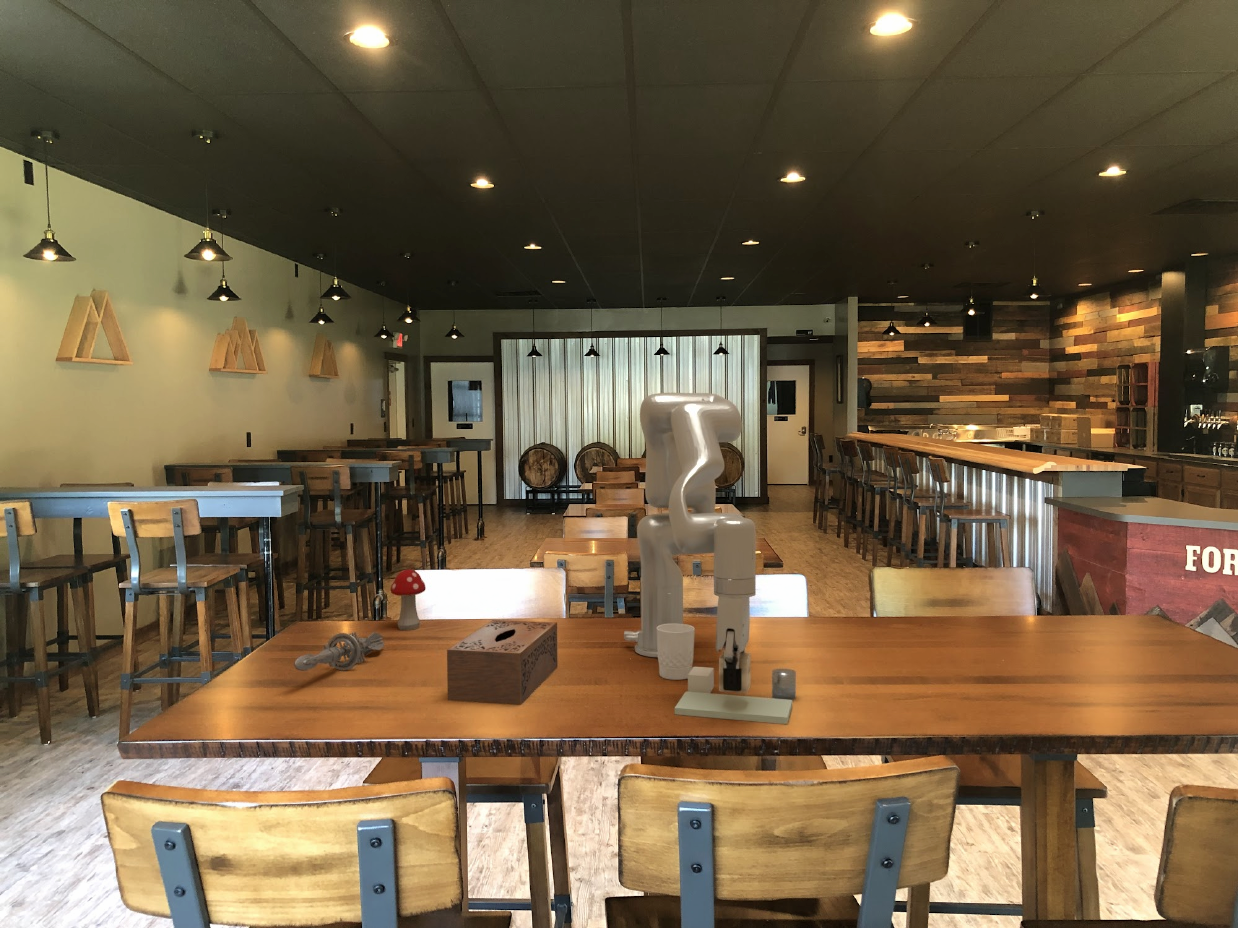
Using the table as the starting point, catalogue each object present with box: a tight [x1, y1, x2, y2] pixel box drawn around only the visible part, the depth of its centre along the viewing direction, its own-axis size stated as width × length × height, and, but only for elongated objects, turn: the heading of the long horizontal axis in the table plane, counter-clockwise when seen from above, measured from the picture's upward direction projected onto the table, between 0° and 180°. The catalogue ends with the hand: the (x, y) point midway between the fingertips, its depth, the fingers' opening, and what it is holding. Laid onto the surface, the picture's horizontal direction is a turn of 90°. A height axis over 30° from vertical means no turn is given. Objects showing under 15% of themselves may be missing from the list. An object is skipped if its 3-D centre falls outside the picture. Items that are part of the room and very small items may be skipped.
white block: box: [687, 666, 715, 693], centre depth 174 cm, size 4×6×4 cm, turn 164°
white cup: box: [657, 623, 695, 681], centre depth 184 cm, size 8×8×10 cm
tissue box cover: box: [446, 619, 558, 706], centre depth 179 cm, size 26×14×10 cm, turn 169°
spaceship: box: [293, 631, 386, 671], centre depth 189 cm, size 8×35×8 cm
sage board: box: [674, 690, 793, 725], centre depth 162 cm, size 20×10×1 cm, turn 74°
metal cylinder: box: [771, 668, 797, 702], centre depth 169 cm, size 4×4×5 cm
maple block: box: [718, 651, 752, 694], centre depth 161 cm, size 5×5×6 cm
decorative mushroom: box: [390, 568, 426, 631], centre depth 227 cm, size 10×9×15 cm
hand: (734, 684), depth 161 cm, fingers closed on maple block, 4 cm apart
